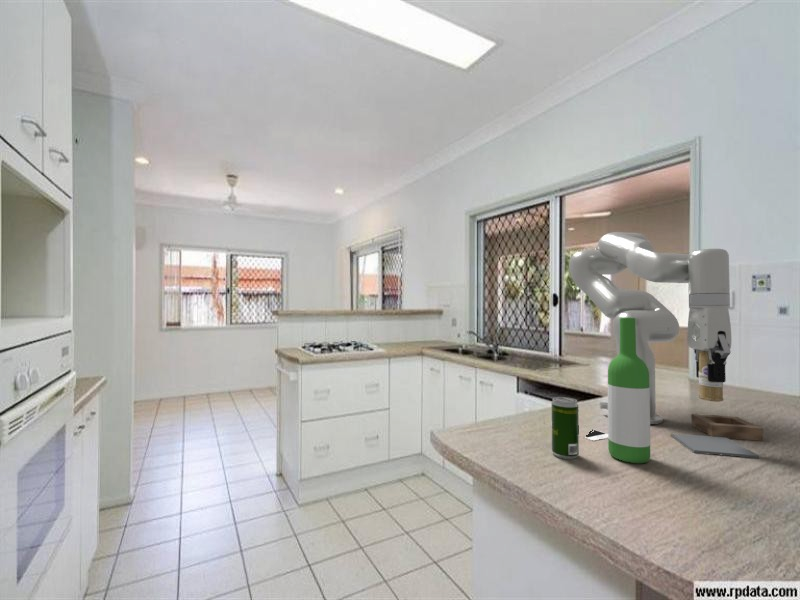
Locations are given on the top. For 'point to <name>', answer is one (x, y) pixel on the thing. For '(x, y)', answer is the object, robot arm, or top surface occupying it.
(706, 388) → the sprinkles bottle
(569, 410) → the beer can
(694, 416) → the walnut caddy
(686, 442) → the charcoal mat
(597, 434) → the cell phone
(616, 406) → the wine bottle
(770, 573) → the top surface
